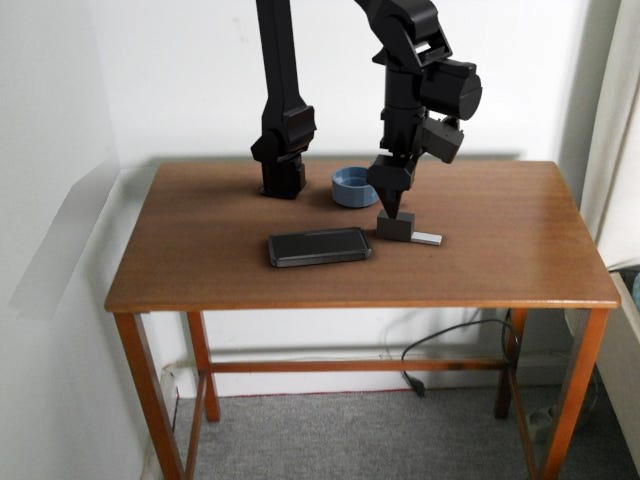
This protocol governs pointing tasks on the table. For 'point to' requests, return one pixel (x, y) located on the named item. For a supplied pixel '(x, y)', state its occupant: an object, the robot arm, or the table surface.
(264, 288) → the table surface
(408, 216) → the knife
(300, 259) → the phone
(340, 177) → the bowl
